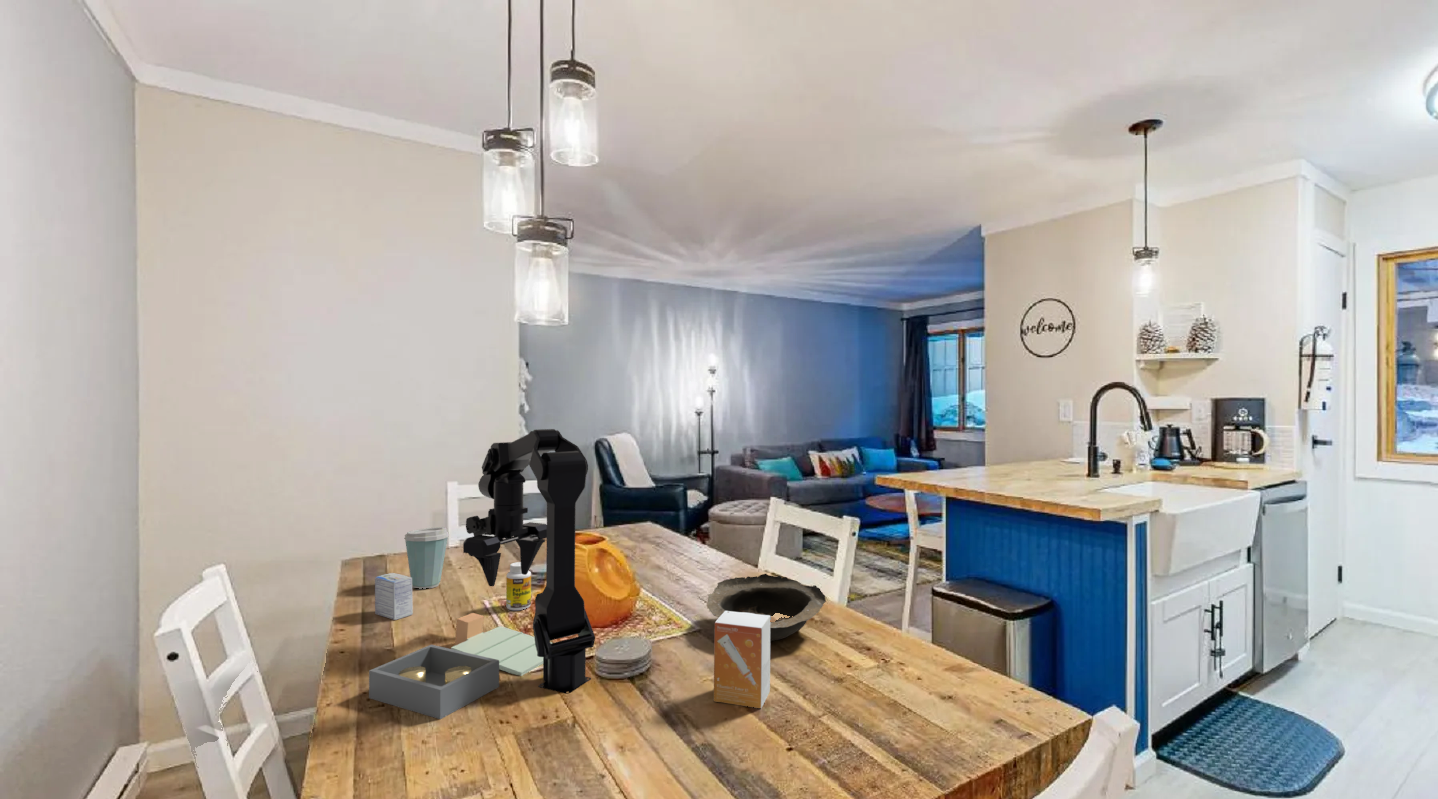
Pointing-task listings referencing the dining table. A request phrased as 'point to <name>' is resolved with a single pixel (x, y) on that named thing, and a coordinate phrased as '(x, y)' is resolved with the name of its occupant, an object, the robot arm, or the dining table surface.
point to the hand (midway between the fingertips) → (508, 580)
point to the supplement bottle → (518, 588)
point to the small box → (742, 658)
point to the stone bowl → (768, 601)
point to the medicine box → (393, 596)
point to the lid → (497, 645)
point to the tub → (434, 681)
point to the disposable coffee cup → (426, 555)
